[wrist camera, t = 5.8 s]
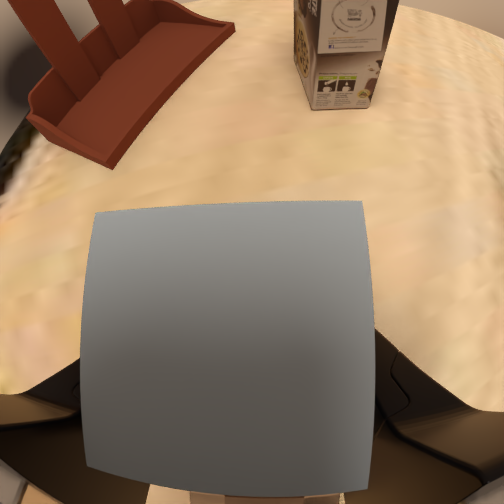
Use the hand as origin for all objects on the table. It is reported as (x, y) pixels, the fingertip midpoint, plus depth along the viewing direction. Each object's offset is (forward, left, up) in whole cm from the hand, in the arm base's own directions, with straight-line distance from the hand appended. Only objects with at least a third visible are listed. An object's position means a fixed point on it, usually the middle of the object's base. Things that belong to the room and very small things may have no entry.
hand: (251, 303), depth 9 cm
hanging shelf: (+28, -13, -13) cm, 34 cm away
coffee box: (+9, -24, -13) cm, 29 cm away
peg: (-1, +1, -7) cm, 7 cm away
